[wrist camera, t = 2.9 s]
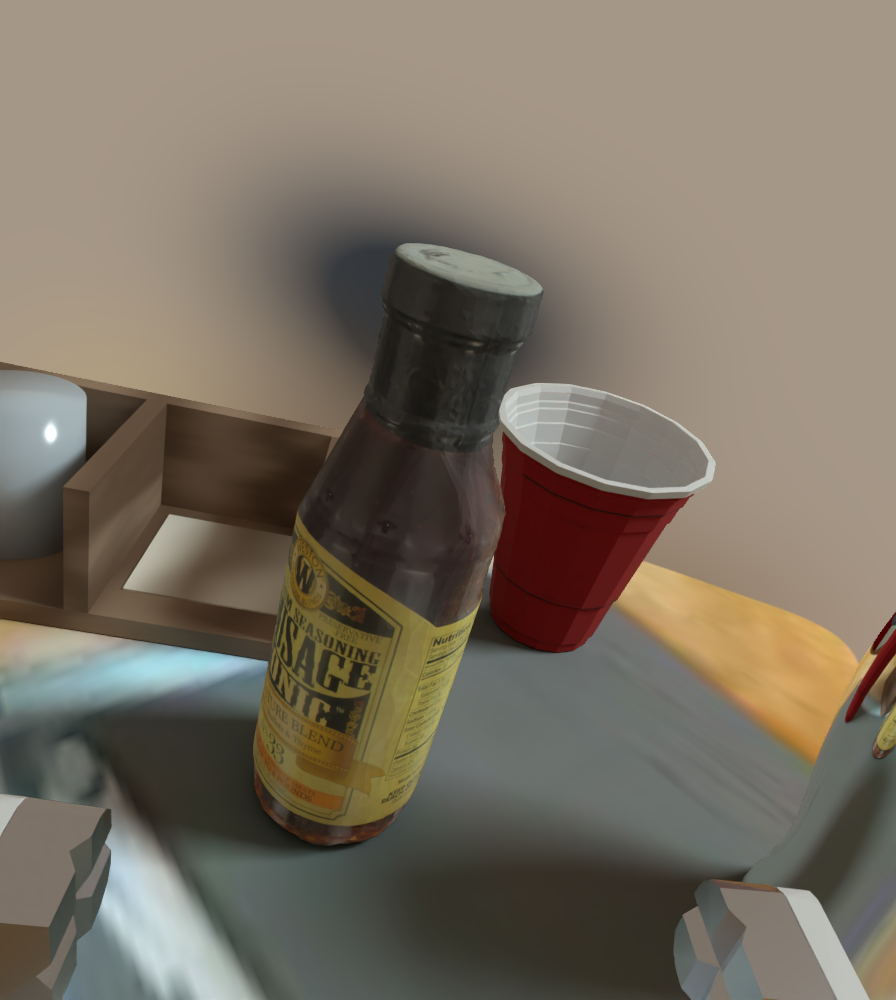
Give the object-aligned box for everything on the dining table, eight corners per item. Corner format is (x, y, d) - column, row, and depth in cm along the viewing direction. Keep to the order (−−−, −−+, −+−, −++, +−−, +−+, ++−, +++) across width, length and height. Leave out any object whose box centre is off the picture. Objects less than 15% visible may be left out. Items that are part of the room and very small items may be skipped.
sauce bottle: (220, 754, 28) (289, 212, 19) (359, 707, 32) (469, 237, 23) (299, 898, 24) (434, 287, 15) (449, 823, 28) (625, 302, 19)
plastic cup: (425, 651, 36) (486, 429, 31) (459, 547, 46) (510, 365, 41) (639, 716, 36) (739, 502, 30) (629, 597, 46) (703, 419, 40)
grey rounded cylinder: (-75, 547, 33) (-90, 402, 30) (-10, 490, 38) (-18, 361, 35) (55, 569, 34) (54, 430, 31) (102, 510, 39) (105, 386, 36)
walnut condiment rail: (-174, 590, 31) (-201, 438, 28) (-31, 475, 41) (-40, 354, 38) (305, 666, 34) (329, 535, 30) (331, 541, 43) (352, 433, 40)
